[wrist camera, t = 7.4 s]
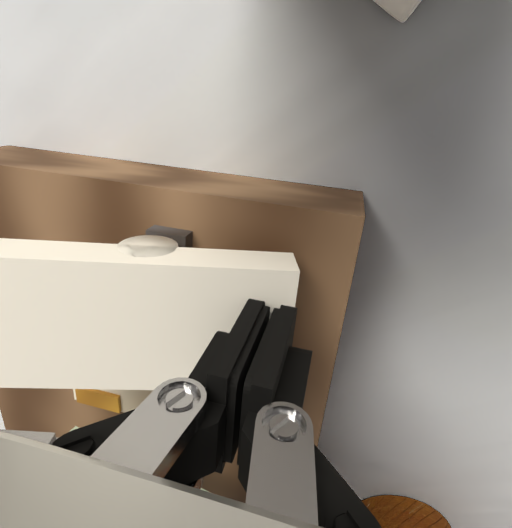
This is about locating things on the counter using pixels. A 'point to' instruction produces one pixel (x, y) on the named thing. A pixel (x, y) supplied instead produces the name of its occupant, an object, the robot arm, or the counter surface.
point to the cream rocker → (124, 308)
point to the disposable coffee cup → (404, 513)
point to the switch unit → (186, 235)
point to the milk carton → (399, 8)
